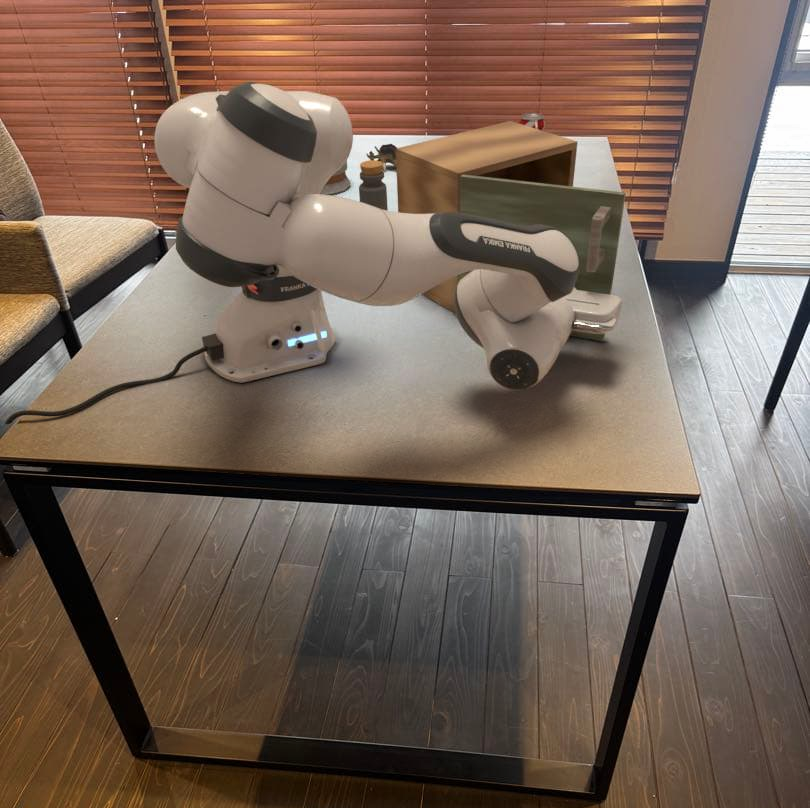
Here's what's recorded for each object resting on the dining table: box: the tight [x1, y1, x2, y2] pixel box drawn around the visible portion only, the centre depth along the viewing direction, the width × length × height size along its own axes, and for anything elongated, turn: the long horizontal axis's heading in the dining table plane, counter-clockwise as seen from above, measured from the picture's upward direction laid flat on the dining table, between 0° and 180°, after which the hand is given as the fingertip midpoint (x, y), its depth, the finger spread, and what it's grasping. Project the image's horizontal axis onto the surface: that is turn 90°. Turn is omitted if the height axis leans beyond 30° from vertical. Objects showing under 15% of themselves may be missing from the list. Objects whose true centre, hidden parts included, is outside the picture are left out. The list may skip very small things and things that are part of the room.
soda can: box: [518, 112, 547, 132], centre depth 201 cm, size 7×7×12 cm
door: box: [459, 175, 627, 342], centre depth 129 cm, size 7×26×24 cm, turn 65°
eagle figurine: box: [365, 143, 398, 173], centre depth 206 cm, size 8×7×9 cm
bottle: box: [358, 159, 389, 211], centre depth 168 cm, size 6×6×15 cm
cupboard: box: [395, 120, 578, 314], centre depth 147 cm, size 18×26×24 cm
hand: (566, 285), depth 131 cm, fingers closed
